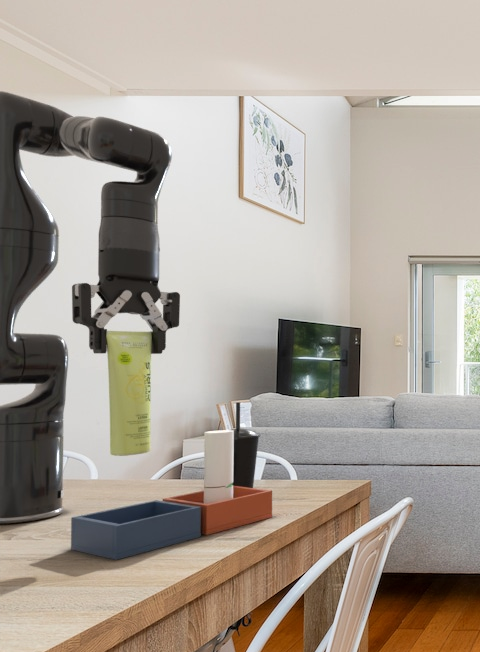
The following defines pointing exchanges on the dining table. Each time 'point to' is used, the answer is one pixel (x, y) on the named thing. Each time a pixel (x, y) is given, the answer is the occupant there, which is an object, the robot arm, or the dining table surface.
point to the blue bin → (135, 528)
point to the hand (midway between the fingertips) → (128, 353)
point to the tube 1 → (129, 391)
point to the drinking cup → (244, 454)
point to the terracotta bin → (229, 508)
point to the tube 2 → (218, 465)
